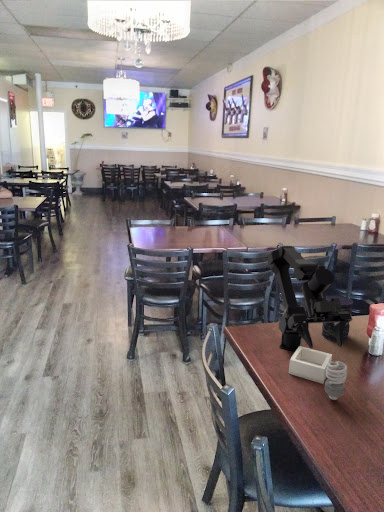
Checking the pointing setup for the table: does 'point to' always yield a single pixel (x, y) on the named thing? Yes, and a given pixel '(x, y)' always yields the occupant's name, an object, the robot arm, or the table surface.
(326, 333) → the storage jar
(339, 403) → the table surface
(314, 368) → the white open box
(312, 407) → the table surface
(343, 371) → the light bulb
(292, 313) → the robot arm
